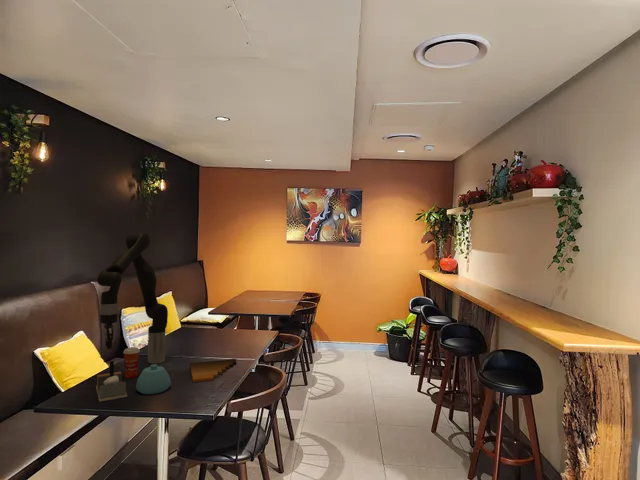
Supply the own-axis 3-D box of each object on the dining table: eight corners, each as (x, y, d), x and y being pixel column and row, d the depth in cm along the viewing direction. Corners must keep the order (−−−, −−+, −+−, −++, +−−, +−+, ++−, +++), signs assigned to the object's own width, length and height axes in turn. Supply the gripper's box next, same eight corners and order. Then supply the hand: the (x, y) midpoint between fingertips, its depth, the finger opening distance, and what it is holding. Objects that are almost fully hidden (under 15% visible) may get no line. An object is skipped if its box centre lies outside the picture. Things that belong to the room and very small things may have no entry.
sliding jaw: (97, 385, 192) (97, 375, 192) (120, 381, 197) (120, 371, 197) (97, 387, 190) (97, 376, 190) (121, 383, 195) (121, 373, 195)
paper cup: (121, 379, 203) (121, 351, 203) (124, 374, 211) (124, 347, 211) (138, 378, 205) (138, 350, 205) (140, 373, 213) (141, 346, 213)
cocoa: (114, 394, 182) (115, 368, 182) (99, 394, 182) (100, 368, 181) (122, 386, 192) (123, 361, 191) (108, 385, 191) (109, 360, 190)
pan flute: (235, 363, 233) (189, 368, 224) (235, 358, 233) (189, 362, 224) (243, 378, 210) (192, 383, 201) (243, 371, 210) (192, 376, 201)
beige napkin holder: (95, 387, 192) (96, 374, 192) (121, 383, 198) (121, 371, 198) (99, 401, 176) (99, 387, 176) (127, 396, 182) (127, 383, 182)
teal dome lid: (160, 381, 202) (160, 358, 202) (176, 389, 192) (177, 364, 192) (130, 390, 190) (130, 365, 190) (146, 398, 181) (146, 372, 181)
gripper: (99, 311, 202) (98, 344, 203) (101, 315, 190) (101, 351, 190) (115, 309, 207) (115, 342, 207) (119, 314, 194) (118, 349, 195)
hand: (108, 347), depth 199 cm, fingers open, 5 cm apart
